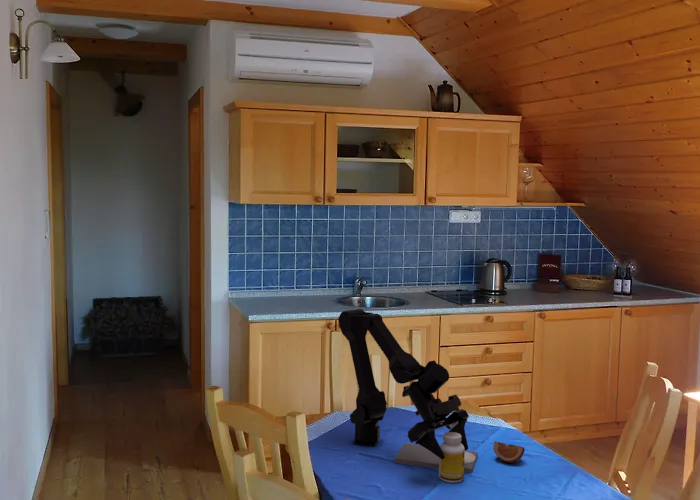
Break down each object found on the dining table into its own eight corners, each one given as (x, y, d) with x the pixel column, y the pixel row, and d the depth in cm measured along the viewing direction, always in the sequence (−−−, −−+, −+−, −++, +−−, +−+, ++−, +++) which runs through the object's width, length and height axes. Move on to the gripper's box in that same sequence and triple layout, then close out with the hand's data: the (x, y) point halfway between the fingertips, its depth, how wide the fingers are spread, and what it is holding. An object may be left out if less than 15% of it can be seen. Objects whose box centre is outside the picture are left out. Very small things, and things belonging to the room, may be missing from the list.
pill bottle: (463, 484, 183) (464, 440, 182) (437, 482, 185) (438, 438, 183) (464, 474, 190) (465, 431, 188) (439, 472, 191) (440, 429, 190)
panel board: (394, 462, 197) (394, 457, 197) (404, 446, 208) (404, 442, 208) (471, 473, 190) (471, 468, 190) (477, 456, 202) (477, 452, 202)
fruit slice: (489, 461, 199) (490, 443, 198) (498, 453, 204) (499, 436, 204) (518, 468, 194) (519, 450, 194) (527, 460, 200) (528, 442, 199)
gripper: (416, 392, 182) (449, 447, 175) (464, 379, 194) (496, 430, 187) (394, 415, 188) (424, 469, 181) (441, 401, 201) (471, 451, 193)
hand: (455, 454), depth 186 cm, fingers open, 9 cm apart
